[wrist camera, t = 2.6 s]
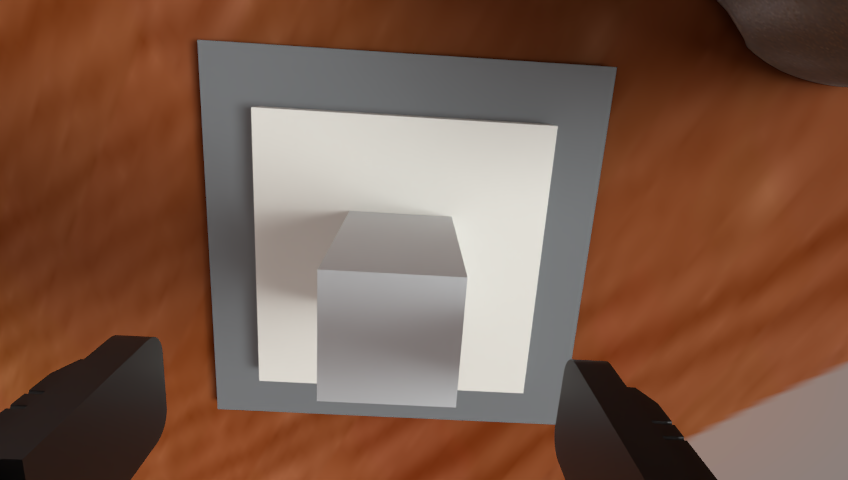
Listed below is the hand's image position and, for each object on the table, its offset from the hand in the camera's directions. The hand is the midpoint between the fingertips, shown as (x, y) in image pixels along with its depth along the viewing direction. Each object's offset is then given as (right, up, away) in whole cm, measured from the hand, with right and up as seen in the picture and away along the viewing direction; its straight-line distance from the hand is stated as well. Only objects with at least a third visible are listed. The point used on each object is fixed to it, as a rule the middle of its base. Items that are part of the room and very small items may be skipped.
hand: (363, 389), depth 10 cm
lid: (0, +2, +9) cm, 9 cm away
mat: (0, +3, +10) cm, 10 cm away
